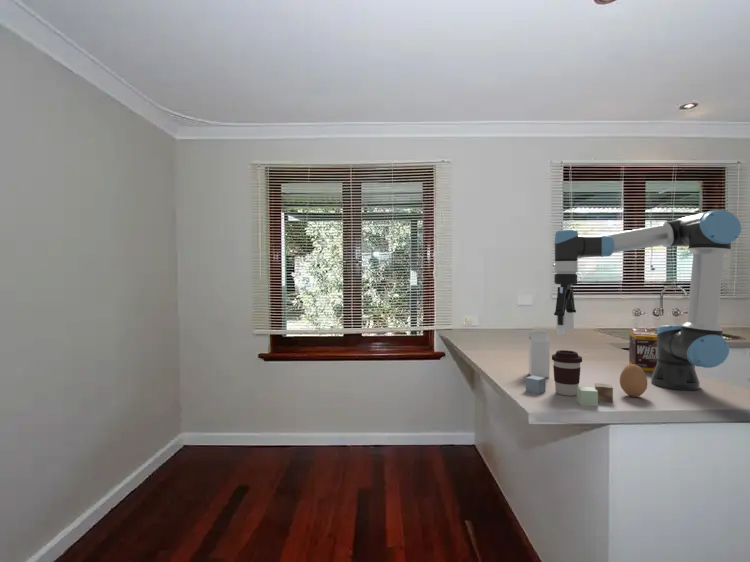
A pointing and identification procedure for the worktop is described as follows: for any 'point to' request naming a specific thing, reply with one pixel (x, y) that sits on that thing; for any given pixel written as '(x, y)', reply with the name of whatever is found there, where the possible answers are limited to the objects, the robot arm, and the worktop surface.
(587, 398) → the sage painted cube
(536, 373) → the milk carton
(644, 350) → the supplement box
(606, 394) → the walnut cube
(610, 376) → the worktop surface
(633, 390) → the egg
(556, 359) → the coffee cup
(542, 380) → the slate painted cube
